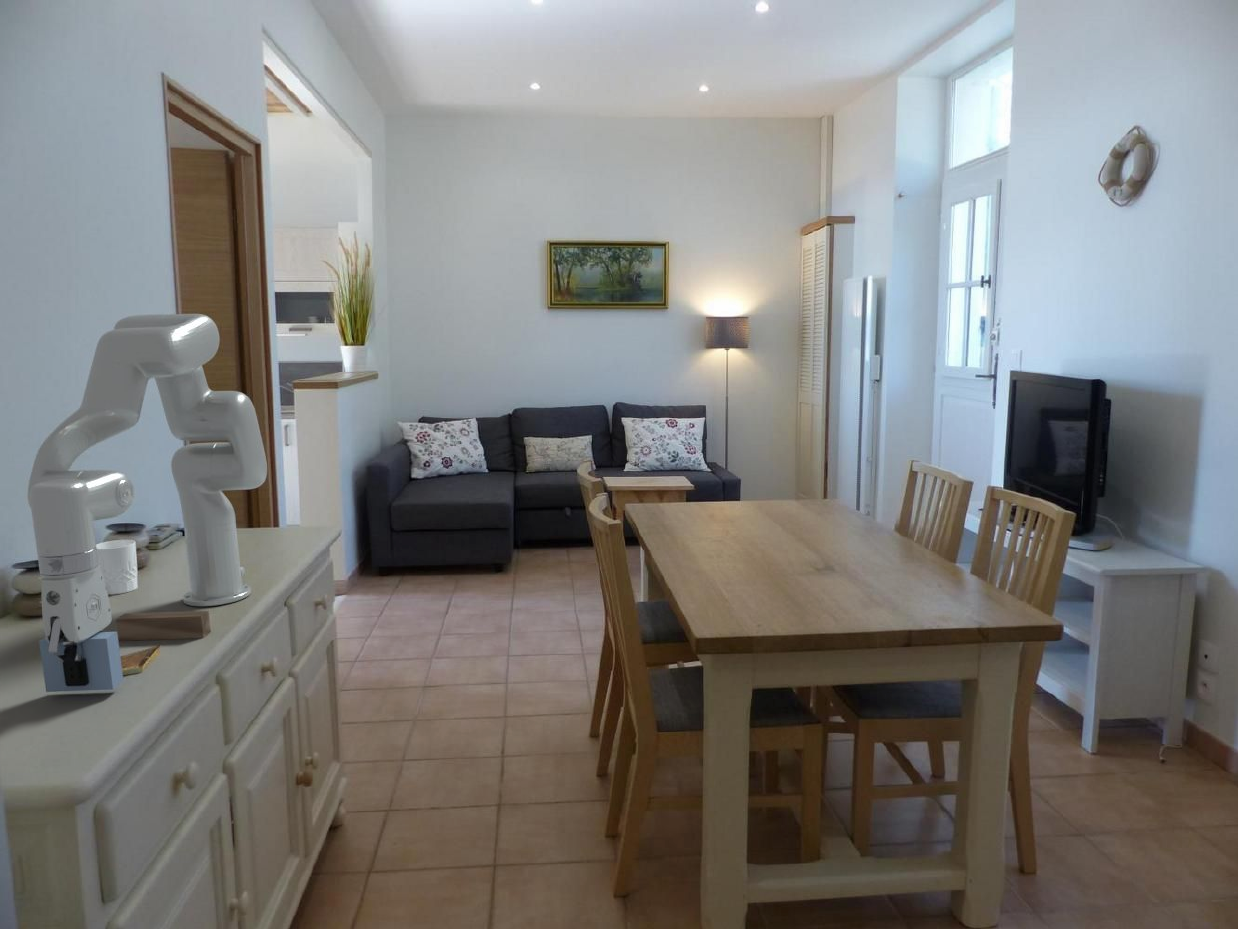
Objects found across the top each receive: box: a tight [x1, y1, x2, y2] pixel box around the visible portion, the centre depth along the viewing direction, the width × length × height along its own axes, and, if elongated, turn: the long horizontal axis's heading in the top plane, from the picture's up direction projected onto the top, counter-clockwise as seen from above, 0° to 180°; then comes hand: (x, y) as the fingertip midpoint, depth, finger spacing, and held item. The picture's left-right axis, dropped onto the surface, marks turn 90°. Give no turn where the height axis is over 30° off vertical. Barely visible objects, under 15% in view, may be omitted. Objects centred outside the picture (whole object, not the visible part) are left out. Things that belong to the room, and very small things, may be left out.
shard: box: [120, 644, 162, 676], centre depth 150 cm, size 11×8×2 cm
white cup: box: [96, 539, 139, 596], centre depth 193 cm, size 8×8×10 cm
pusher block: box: [38, 631, 124, 693], centre depth 138 cm, size 3×10×8 cm, turn 91°
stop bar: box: [115, 610, 212, 642], centre depth 163 cm, size 3×15×4 cm, turn 91°
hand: (84, 679), depth 138 cm, fingers closed on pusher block, 3 cm apart
